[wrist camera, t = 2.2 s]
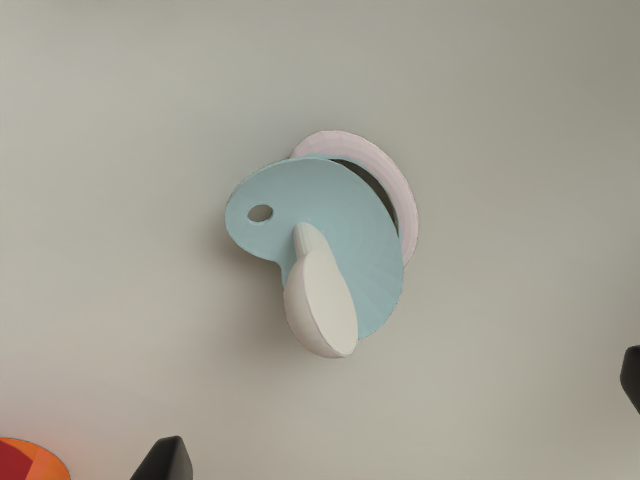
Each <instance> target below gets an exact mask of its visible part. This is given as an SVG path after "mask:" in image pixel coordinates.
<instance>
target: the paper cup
mask: <svg viewBox="0 0 640 480" xmlns="http://www.w3.org/2000/svg"><path fill="white" fill-rule="evenodd" d="M0 480H70V475H69V472H68V470H67V468H66V467H65V465H64V464H63V463H62V462H61V461H60V460H59V459H58V458H57V457H56V456H55V455H54V454H52V453H51V452H49V451H47V450H46V449H44V448H42V447H40V446H37V445H35V444H32V443H29V442H26V441H22V440H17V439H11V438H0Z"/></svg>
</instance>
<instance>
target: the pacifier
mask: <svg viewBox="0 0 640 480" xmlns="http://www.w3.org/2000/svg"><path fill="white" fill-rule="evenodd" d="M328 159H343V160H346V161H349V162H353V163H355V164H357V165H358V166H360V167H362V168H363V169H365V170H367V171H368V172H369V173H370V174H371V175H372V176H373V177H374V178H375V179H377V180H378V182H379V183H380V184H381V186H382V187H383V189H384V190H385V192H386V195H387V197H388V199H389V201H390V203H391V207H392V211H393V215H394V224H393V222H392V220H391V217H390V215H389V213H388V212H387V210H386V208H385V206H384V205H383V203H382V202H381V200H380V199H379V197H378V196H377V195H376V193H375V192H374V191H373V190H372V188H371V187H370V186H369V185H368V184H367V183H366V182H365V181H364V180H362V179H361V178H360V177H359V176H358V175H357V174H355V173H354V172H352V171H351V170H349V169H348V168H346V167H345V166H343V165H341V164H338V163H336V162H333V161H331V160H328ZM261 204H265V205H268V206H270V207H271V208H272V209H273V213H272V215H271V216H270V217H269V218H268V219H267V220H265V221H262V222H254V221H252V220H250V219H249V217H248V213H249V211H250V210H251V209H252V208H253V207H255V206H257V205H261ZM225 224H226V229H227V231H228V233H229V235H230V236H231V237H232V239H233V240H234V241H235V242H236V244H238V245H239V246H240V247H241V248H243V249H244V250H246V251H247V252H249V253H251V254H253V255H255V256H258V257H260V258H263V259H266V260H272V261H275V262H276V263H277V264H278V265H279V266H280V268H281V271H282V274H281V278H282V285H283V291H284V309H285V314H286V318H287V321H288V324H289V326H290V328H291V330H292V332H293V334H294V335H295V337H296V338H297V339H298V341H299V342H300V343H301V344H302V345H303V346H304V347H305V348H306V349H308V350H309V351H311V352H312V353H314V354H316V355H319V356H321V357H325V358H343V357H346V356H349V355H350V354H352V352H353V351H354V350H355V348H356V345H357V341H358V340H359V339H361V338H364V337H367V336H368V335H370V334H371V333H373V332H375V331H376V330H377V329H378V328H380V327H381V326H382V325H383V324H384V323H385V321H386V320H387V318H388V317H389V316H390V315H391V313H392V311H393V309H394V307H395V305H396V304H397V301H398V299H399V296H400V294H401V291H402V284H403V278H404V267H405V266H406V265H407V263H408V261H409V260H410V258H411V257H412V255H413V253H414V250H415V246H416V243H417V239H418V214H417V209H416V204H415V199H414V197H413V195H412V192H411V190H410V188H409V185H408V183H407V181H406V179H405V177H404V176H403V175H402V173H401V172H400V170H399V169H398V167H397V166H396V164H395V163H394V162H393V161H392V160H391V159H390V158H389V157H388V156H387V155H386V154H385V153H384V152H383V151H382V150H381V149H380V148H379V147H377V146H376V145H374V144H372V143H371V142H369V141H367V140H366V139H364V138H362V137H361V136H358V135H355V134H351V133H348V132H344V131H341V130H336V131H321V132H318V133H316V134H313V135H311V136H308V137H306V138H305V139H304V140H303V141H302V142H301V143H300V144H299V145H298V146H297V147H296V148H295V149H294V150H293V152H292V154H291V156H290V158H289V159H286V160H282V161H279V162H275V163H272V164H270V165H268V166H266V167H263V168H261V169H259V170H258V171H256V172H254V173H253V174H251V175H249V176H248V177H247V178H246V179H245V180H243V181H242V182H241V183H240V184H239V185H238V186H237V187H236V188H235V190H234V191H233V192H232V194H231V196H230V198H229V200H228V202H227V207H226V211H225Z"/></svg>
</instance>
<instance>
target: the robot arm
mask: <svg viewBox="0 0 640 480" xmlns="http://www.w3.org/2000/svg"><path fill="white" fill-rule="evenodd" d="M620 382H621V385H622V387H623V389H624V391H625V393H626V394H627V396H628V397H629V399H630V400H631V402H632V404H633V405H634V407H635V408H636V410H637V411H638V413H639V414H640V345H637V346H631V347H629V348H628V349H627V350H626V352H625V356H624V361H623V365H622V370H621V374H620ZM130 480H193V469H192V464H191V461H190V458H189V455H188V453H187V450H186V448H185V445H184V442H183V440H182V438H181V437H180V436H172V437H167V438H162V439H159V440H158V441H157V442H156V443H155V444H154V446H153V447H152V448H151V450H150V451H149V453H148V454H147V456H146V457H145V459H144V460H143V461H142V463H141V464H140V466H139V467H138V469H137V470H136V472H135V473H134V474H133V476H132V477H131V479H130Z"/></svg>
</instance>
